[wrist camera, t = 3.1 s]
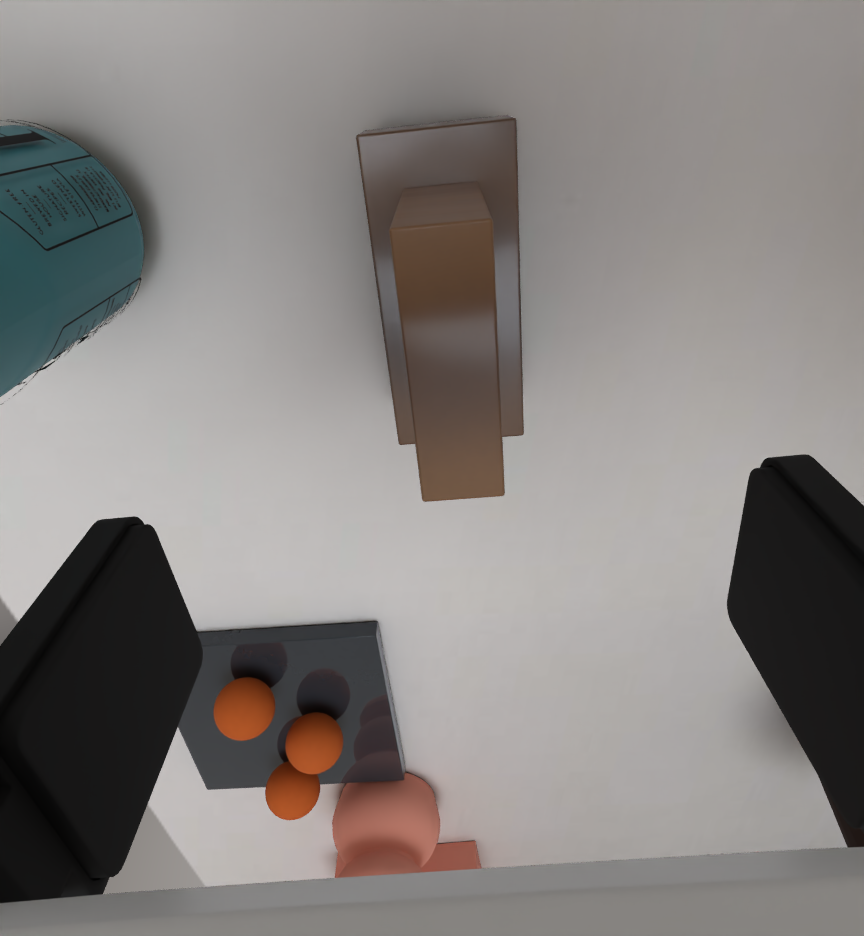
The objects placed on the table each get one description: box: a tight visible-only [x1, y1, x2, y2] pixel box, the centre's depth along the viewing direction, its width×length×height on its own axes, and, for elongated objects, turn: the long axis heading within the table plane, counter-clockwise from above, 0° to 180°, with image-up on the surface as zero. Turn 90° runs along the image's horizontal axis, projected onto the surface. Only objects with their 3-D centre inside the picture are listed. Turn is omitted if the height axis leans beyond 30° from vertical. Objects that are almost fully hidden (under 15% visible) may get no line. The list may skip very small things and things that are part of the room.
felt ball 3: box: [265, 761, 320, 820], centre depth 36 cm, size 3×3×3 cm
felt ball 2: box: [285, 712, 343, 774], centre depth 33 cm, size 3×3×3 cm
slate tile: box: [178, 622, 405, 790], centre depth 35 cm, size 12×12×1 cm
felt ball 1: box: [214, 677, 275, 741], centre depth 32 cm, size 3×3×3 cm
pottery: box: [332, 773, 482, 878], centre depth 39 cm, size 18×10×10 cm, turn 9°
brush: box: [356, 115, 524, 502], centre depth 19 cm, size 10×4×10 cm, turn 6°
